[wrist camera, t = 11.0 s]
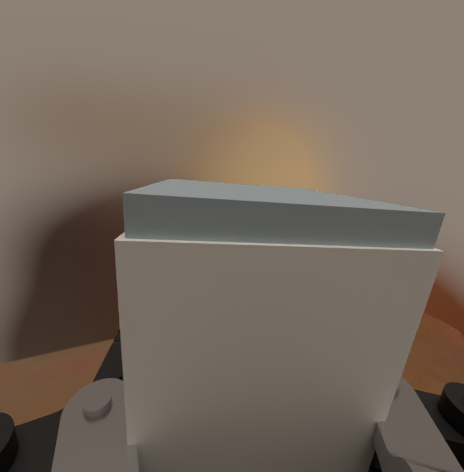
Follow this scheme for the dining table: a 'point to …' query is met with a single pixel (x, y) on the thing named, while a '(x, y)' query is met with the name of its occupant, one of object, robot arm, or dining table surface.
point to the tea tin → (265, 323)
